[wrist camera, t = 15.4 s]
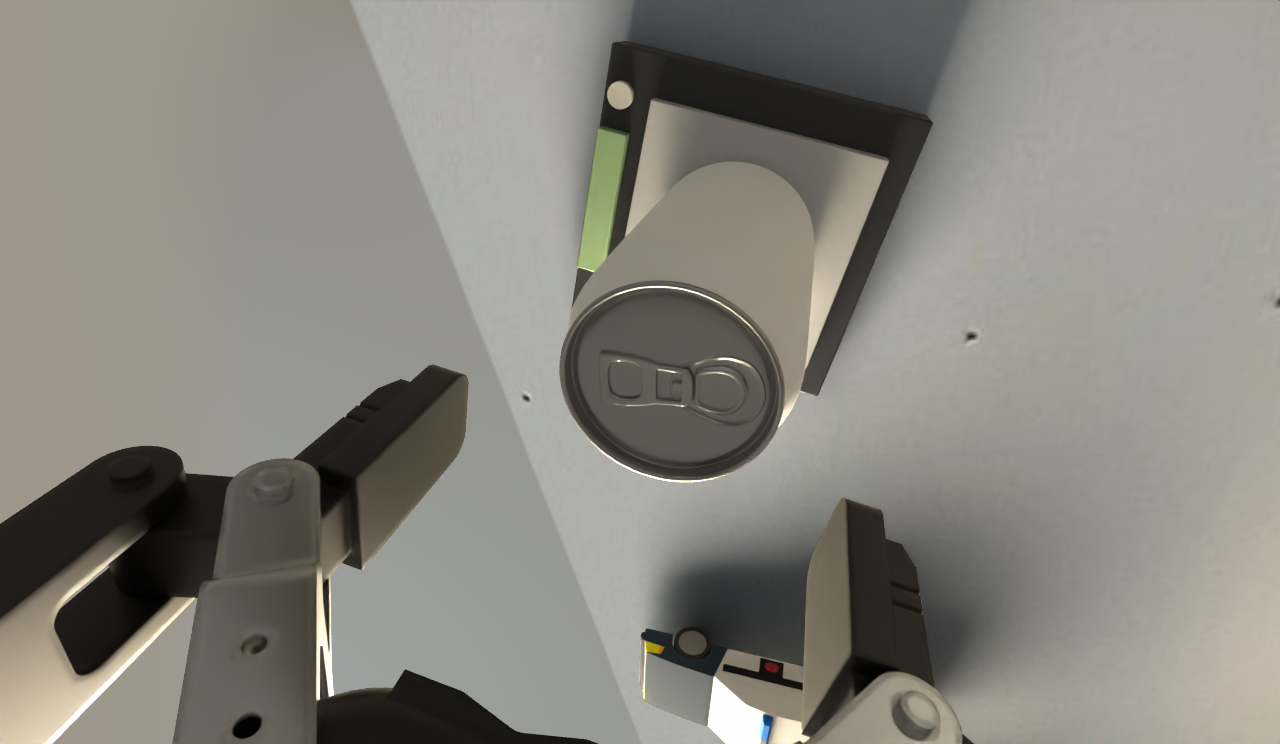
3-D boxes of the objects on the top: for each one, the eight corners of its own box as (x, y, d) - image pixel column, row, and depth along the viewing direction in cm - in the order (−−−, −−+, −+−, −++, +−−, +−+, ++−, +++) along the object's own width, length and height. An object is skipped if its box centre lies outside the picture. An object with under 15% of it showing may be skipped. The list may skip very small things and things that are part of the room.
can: (805, 322, 26) (788, 514, 16) (654, 307, 28) (552, 475, 18) (826, 161, 23) (821, 275, 13) (654, 154, 25) (530, 252, 15)
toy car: (647, 615, 41) (626, 683, 37) (906, 675, 38) (916, 758, 34) (645, 664, 44) (625, 733, 40) (888, 725, 40) (895, 808, 36)
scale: (581, 306, 31) (564, 326, 29) (625, 40, 25) (607, 42, 23) (818, 377, 30) (817, 404, 28) (927, 114, 24) (936, 124, 22)
